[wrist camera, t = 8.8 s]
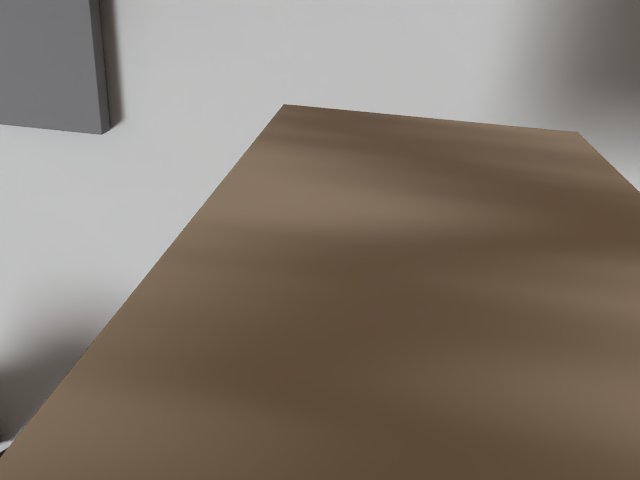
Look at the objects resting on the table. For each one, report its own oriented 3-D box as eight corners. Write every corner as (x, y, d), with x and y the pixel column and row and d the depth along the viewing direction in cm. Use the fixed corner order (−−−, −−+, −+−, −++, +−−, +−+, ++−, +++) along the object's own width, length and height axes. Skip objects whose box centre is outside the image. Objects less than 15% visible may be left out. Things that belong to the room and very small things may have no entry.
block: (577, 132, 10) (1379, 909, 2) (504, 408, 12) (696, 1228, 4) (283, 104, 10) (-140, 635, 2) (273, 377, 13) (61, 1076, 5)
